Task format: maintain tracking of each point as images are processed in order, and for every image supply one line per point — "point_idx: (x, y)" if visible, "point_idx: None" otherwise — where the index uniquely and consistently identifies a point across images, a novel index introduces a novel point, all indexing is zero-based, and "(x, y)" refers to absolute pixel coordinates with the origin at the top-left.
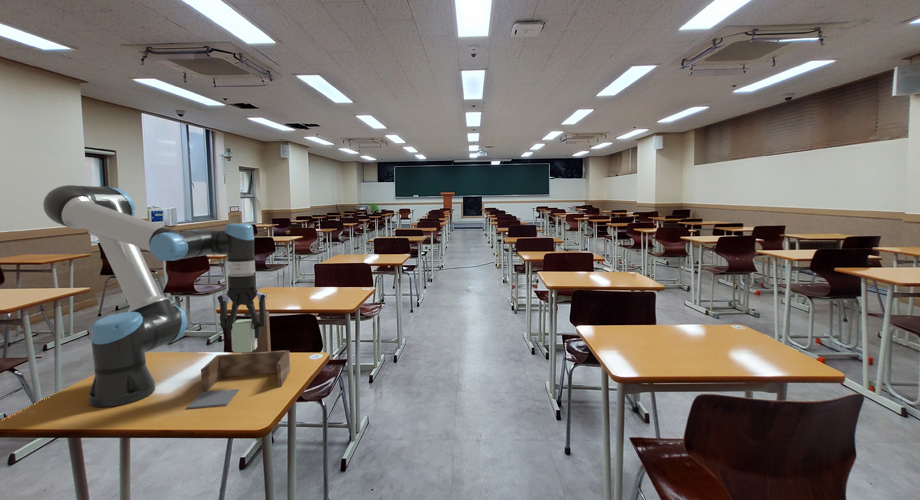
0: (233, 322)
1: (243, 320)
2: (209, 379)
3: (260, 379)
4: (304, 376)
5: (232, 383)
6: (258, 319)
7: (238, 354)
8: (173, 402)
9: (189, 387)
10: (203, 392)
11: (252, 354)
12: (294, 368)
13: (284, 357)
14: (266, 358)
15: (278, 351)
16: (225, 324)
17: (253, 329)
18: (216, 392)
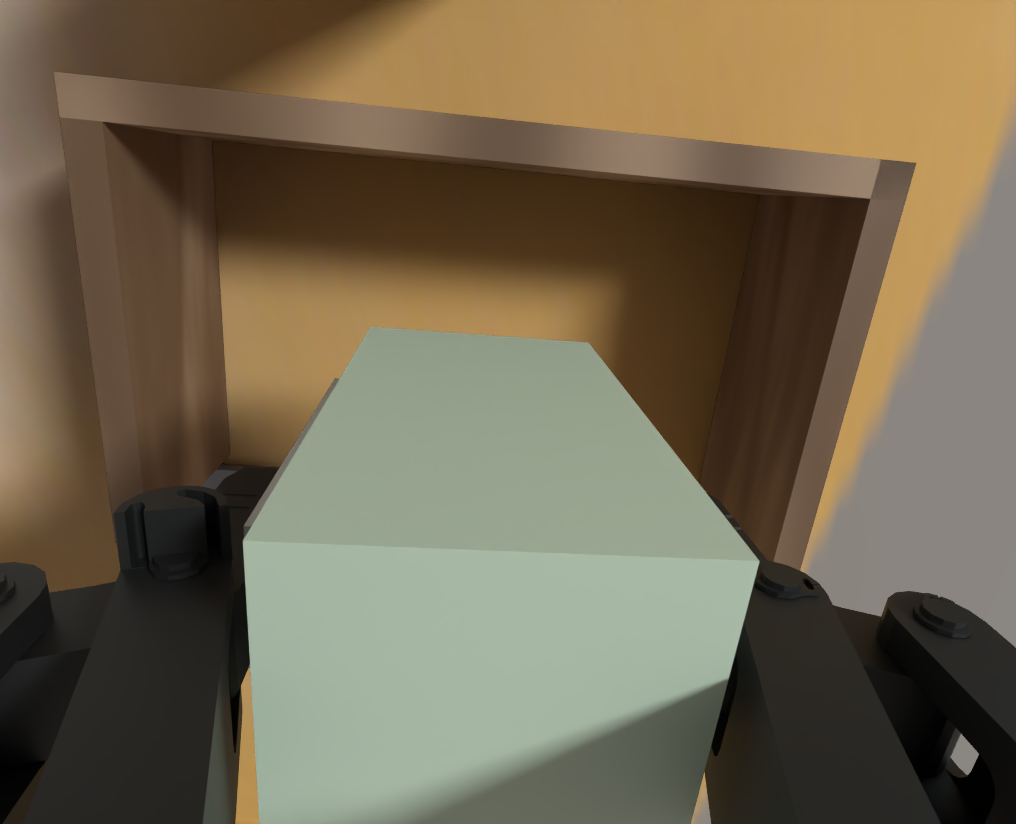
0: (231, 763)
1: (462, 665)
2: (198, 410)
3: (565, 305)
4: (883, 340)
5: (365, 329)
6: (866, 680)
7: (334, 139)
8: (81, 555)
9: (45, 318)
10: (219, 483)
11: (500, 160)
12: (829, 114)
13: (844, 410)
14: (639, 177)
15: (795, 173)
16: (49, 753)
17: None
18: None
